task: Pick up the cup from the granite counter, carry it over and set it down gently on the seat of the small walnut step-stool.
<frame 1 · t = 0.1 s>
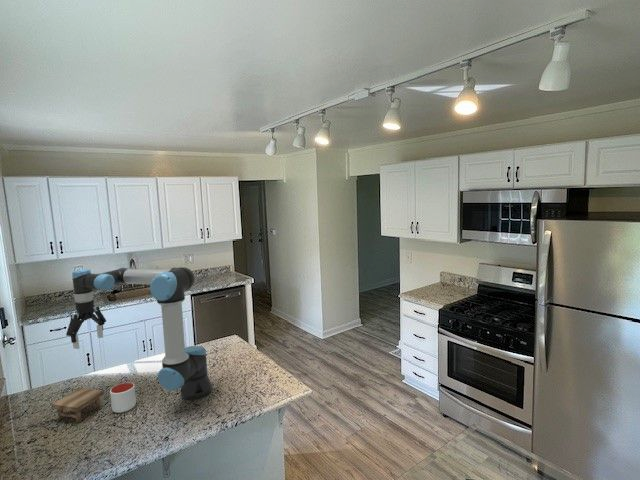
hand: (88, 342, 173), 28 cm above the countertop, fingers open, 13 cm apart
cup: (124, 408, 165), on the countertop
stool: (80, 413, 161), on the countertop
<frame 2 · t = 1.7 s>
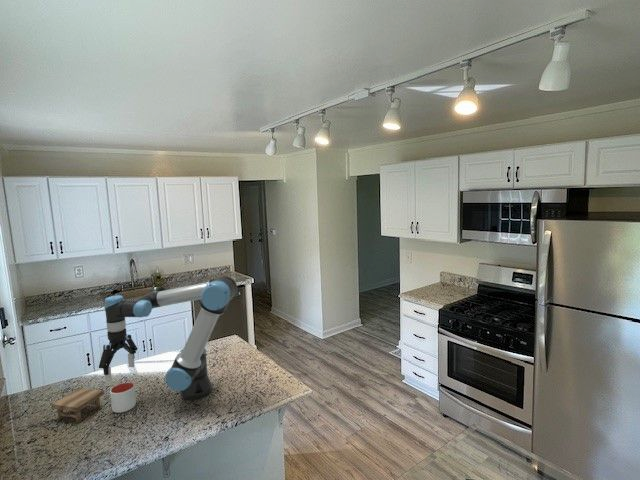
hand: (120, 373, 163), 17 cm above the countertop, fingers open, 13 cm apart
nothing on the countertop moved.
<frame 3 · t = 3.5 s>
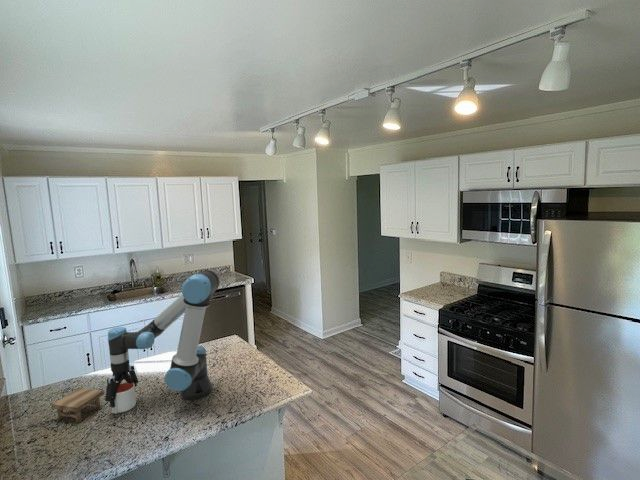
hand: (124, 406, 165), 1 cm above the countertop, fingers closed on cup, 10 cm apart
cup: (124, 408, 165), on the countertop, touching gripper
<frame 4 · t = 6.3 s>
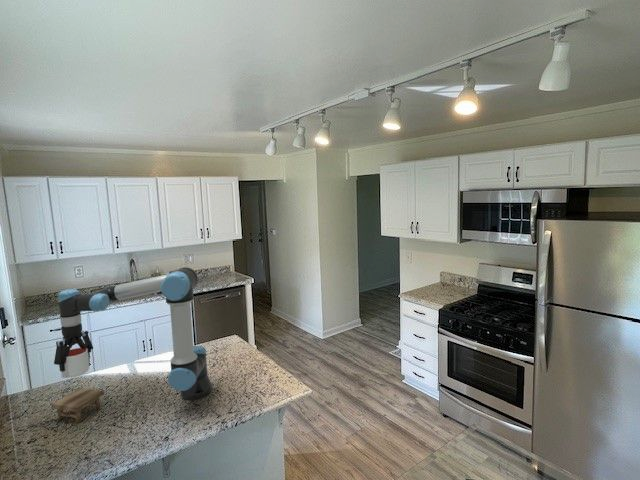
hand: (76, 371, 159), 20 cm above the countertop, fingers closed on cup, 10 cm apart
cup: (76, 373, 159), point 19 cm above the countertop, touching gripper
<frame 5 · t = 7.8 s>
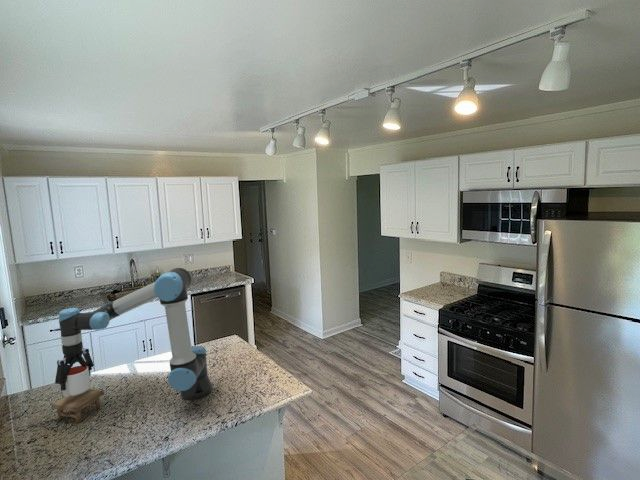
hand: (77, 389, 160), 12 cm above the countertop, fingers closed on cup, 10 cm apart
cup: (77, 391, 160), point 11 cm above the countertop, touching gripper
when the fingers open (10 cm above the countertop, at t = 9.1 s): cup drops 1 cm, resting on stool.
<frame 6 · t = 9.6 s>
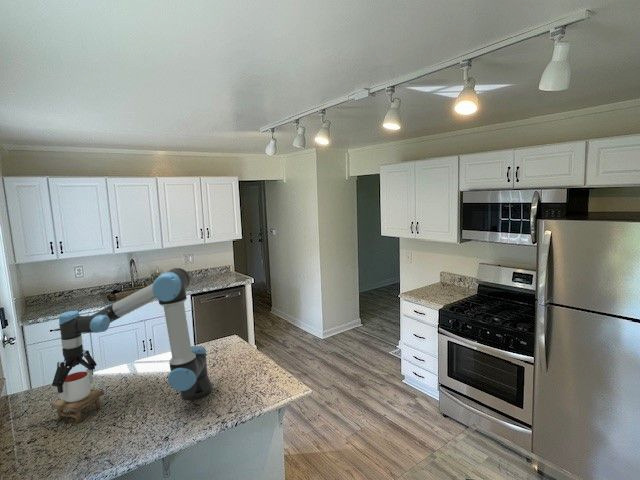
hand: (77, 390, 160), 11 cm above the countertop, fingers open, 13 cm apart
cup: (77, 397, 160), point 8 cm above the countertop, touching stool
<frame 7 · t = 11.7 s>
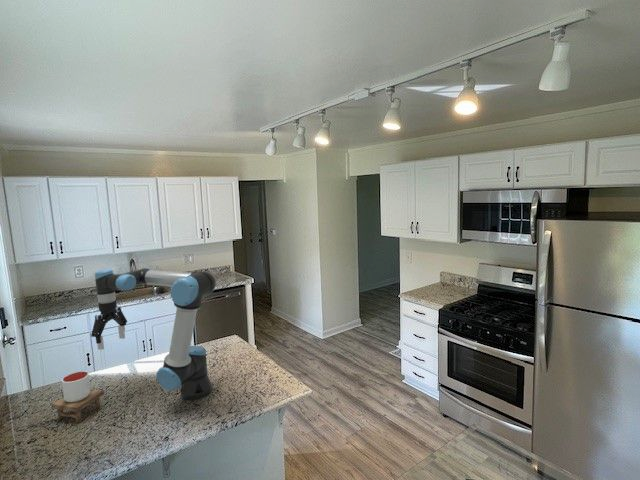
hand: (112, 343, 172), 27 cm above the countertop, fingers open, 13 cm apart
nothing on the countertop moved.
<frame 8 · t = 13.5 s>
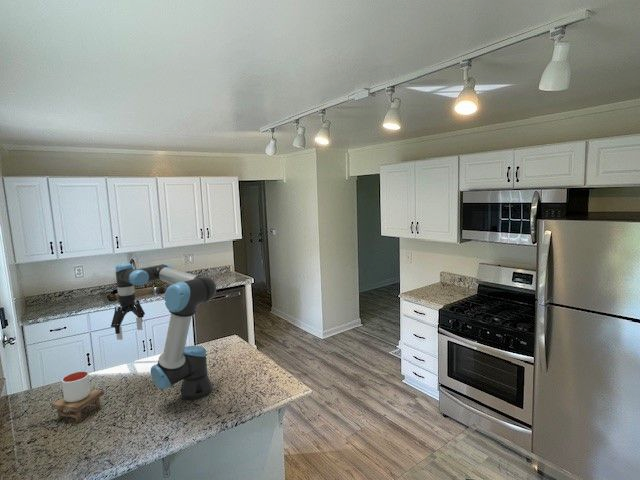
hand: (130, 334, 180), 29 cm above the countertop, fingers open, 13 cm apart
nothing on the countertop moved.
at the end: cup inside the target area on the stool (0.2 cm from its centre), point 7.8 cm above the stool's base; cup tilted 0°; the gripper is holding nothing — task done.
